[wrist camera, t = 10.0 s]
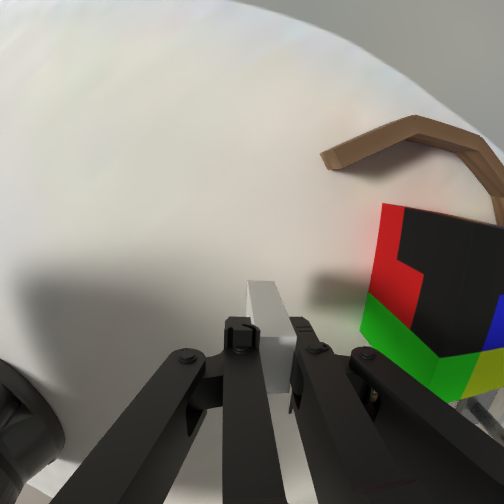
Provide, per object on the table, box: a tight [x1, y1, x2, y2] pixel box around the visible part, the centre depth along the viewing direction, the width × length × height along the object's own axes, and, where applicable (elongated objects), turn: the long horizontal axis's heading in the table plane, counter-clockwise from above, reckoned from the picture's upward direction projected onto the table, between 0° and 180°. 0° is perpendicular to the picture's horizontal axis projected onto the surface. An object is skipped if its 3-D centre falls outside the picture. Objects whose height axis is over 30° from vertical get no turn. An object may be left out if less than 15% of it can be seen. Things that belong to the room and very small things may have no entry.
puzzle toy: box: [360, 203, 504, 403], centre depth 17 cm, size 10×10×10 cm
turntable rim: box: [320, 115, 504, 400], centre depth 20 cm, size 24×21×3 cm
